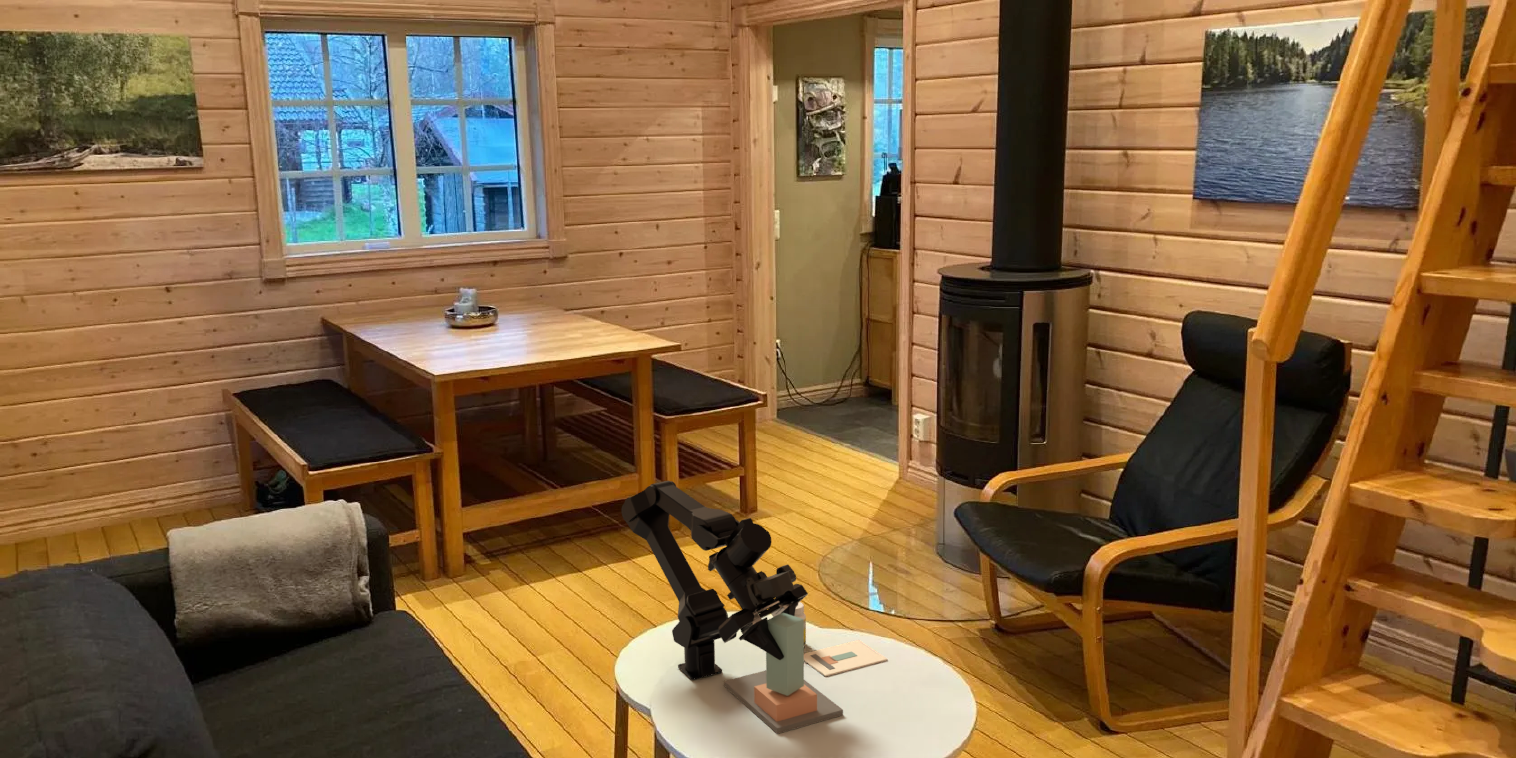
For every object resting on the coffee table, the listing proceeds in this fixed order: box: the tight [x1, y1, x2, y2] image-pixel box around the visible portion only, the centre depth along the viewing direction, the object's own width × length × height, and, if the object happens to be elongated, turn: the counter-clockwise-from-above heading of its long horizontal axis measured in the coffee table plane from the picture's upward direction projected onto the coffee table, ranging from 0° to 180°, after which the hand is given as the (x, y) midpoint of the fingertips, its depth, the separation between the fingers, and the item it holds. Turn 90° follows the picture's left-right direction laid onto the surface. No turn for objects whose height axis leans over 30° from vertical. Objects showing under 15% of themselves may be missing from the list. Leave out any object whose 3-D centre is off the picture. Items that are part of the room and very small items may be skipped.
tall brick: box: [765, 613, 805, 696], centre depth 198 cm, size 5×5×12 cm
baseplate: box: [723, 669, 844, 734], centre depth 204 cm, size 20×13×4 cm, turn 28°
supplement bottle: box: [795, 601, 807, 647], centre depth 226 cm, size 5×5×8 cm
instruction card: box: [804, 639, 888, 677], centre depth 220 cm, size 10×14×1 cm
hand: (791, 653), depth 197 cm, fingers closed on tall brick, 5 cm apart
